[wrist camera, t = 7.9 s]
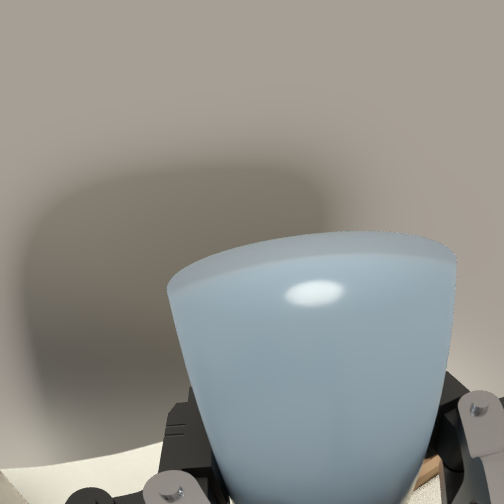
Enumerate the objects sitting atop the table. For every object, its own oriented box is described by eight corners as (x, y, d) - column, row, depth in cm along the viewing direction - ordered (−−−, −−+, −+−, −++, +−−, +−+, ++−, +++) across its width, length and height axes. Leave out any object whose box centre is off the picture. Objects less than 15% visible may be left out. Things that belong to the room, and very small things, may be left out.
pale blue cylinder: (277, 608, 5) (168, 367, 3) (241, 513, 11) (167, 259, 8) (412, 551, 7) (512, 256, 4) (353, 475, 12) (354, 224, 9)
